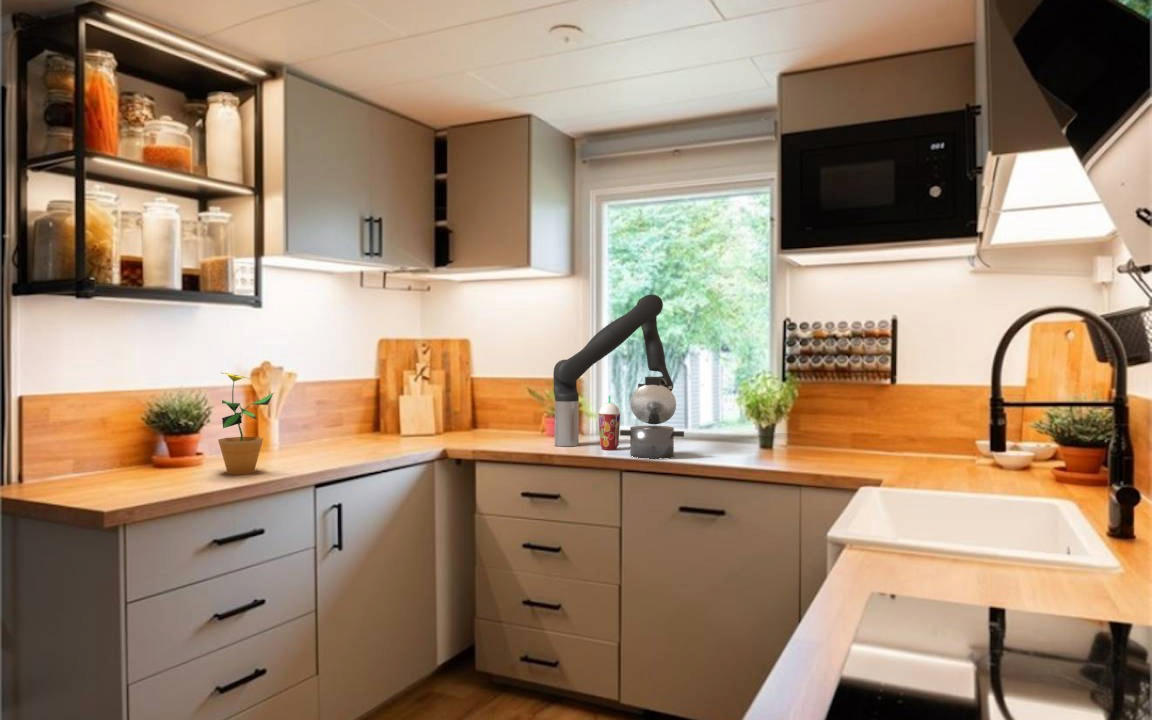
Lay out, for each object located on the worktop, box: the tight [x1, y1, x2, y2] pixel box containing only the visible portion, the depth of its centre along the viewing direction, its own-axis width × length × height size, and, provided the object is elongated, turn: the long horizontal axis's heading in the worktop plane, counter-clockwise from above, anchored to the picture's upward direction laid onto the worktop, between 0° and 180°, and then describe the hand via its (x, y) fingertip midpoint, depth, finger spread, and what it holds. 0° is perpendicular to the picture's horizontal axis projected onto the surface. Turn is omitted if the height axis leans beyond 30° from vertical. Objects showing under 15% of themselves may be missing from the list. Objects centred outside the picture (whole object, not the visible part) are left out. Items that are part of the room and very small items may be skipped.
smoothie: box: [597, 395, 622, 451], centre depth 286 cm, size 8×8×20 cm
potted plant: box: [217, 372, 274, 475], centre depth 229 cm, size 18×19×30 cm
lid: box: [630, 376, 677, 425], centre depth 272 cm, size 19×16×2 cm
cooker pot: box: [619, 425, 685, 460], centre depth 268 cm, size 17×22×10 cm
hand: (653, 388), depth 271 cm, fingers closed
